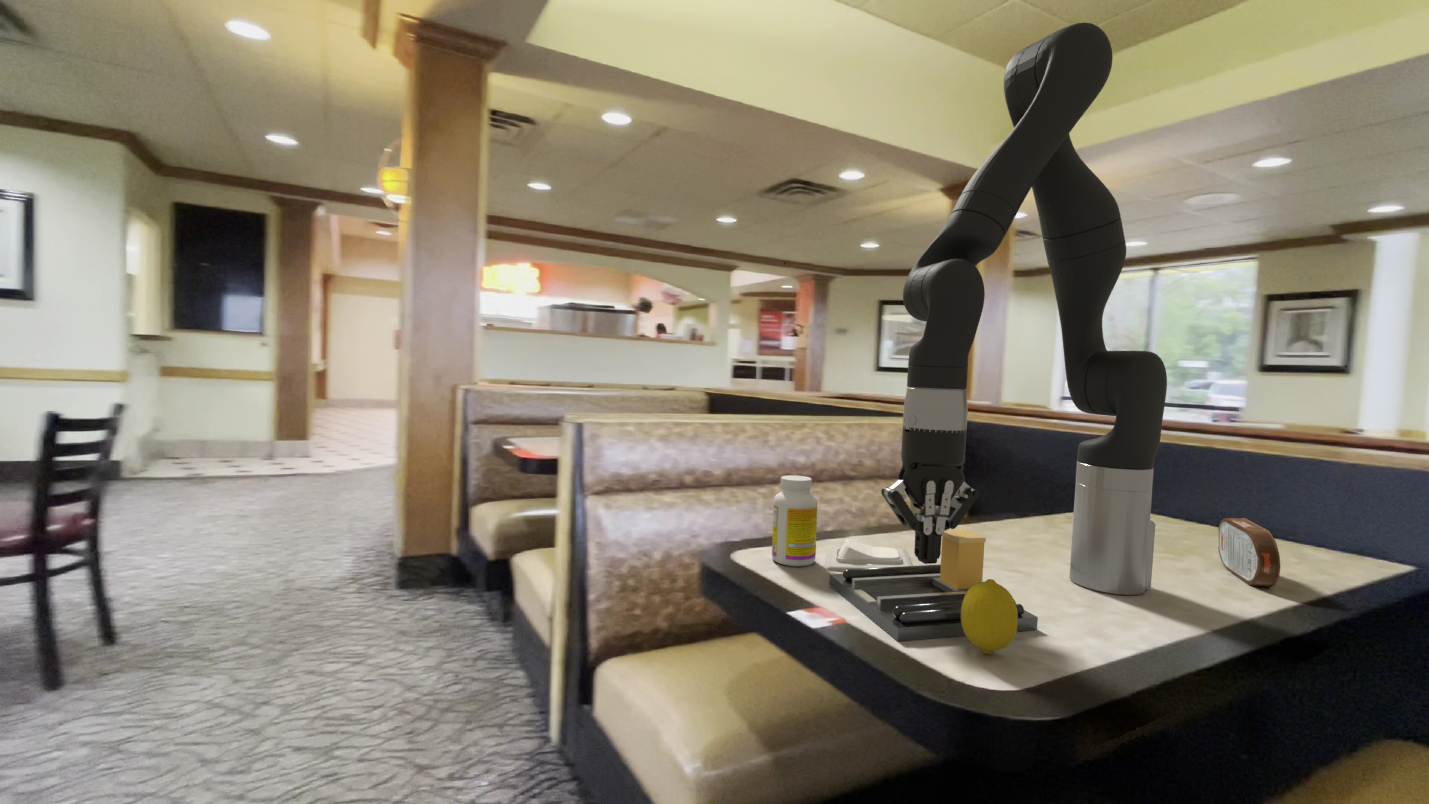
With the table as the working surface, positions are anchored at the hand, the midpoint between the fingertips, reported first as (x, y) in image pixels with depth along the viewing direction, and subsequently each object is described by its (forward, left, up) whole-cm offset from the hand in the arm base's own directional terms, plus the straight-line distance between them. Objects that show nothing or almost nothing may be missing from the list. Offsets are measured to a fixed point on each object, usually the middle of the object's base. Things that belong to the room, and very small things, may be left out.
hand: (926, 561), depth 80 cm
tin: (-56, -3, -6) cm, 56 cm away
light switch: (-1, -18, -7) cm, 19 cm away
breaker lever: (-5, 0, -4) cm, 6 cm away
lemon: (+1, +13, -6) cm, 15 cm away
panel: (0, 0, -6) cm, 6 cm away
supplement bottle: (+10, -20, -6) cm, 23 cm away
